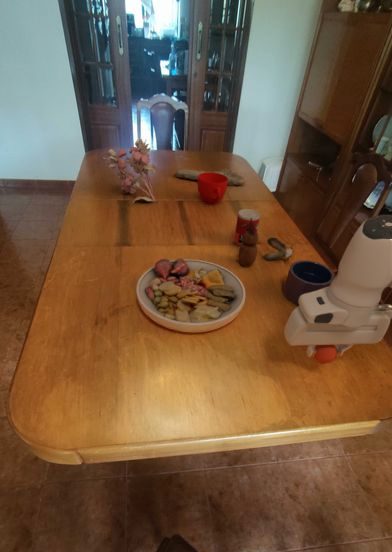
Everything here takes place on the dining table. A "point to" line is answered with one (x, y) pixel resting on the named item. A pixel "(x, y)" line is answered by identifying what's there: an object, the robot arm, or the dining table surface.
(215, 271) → the bowl
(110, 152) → the flower
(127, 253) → the dining table surface
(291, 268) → the pot
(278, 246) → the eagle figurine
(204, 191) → the ceramic cup
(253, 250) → the wooden figurine
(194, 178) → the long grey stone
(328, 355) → the ball
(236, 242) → the canned food
